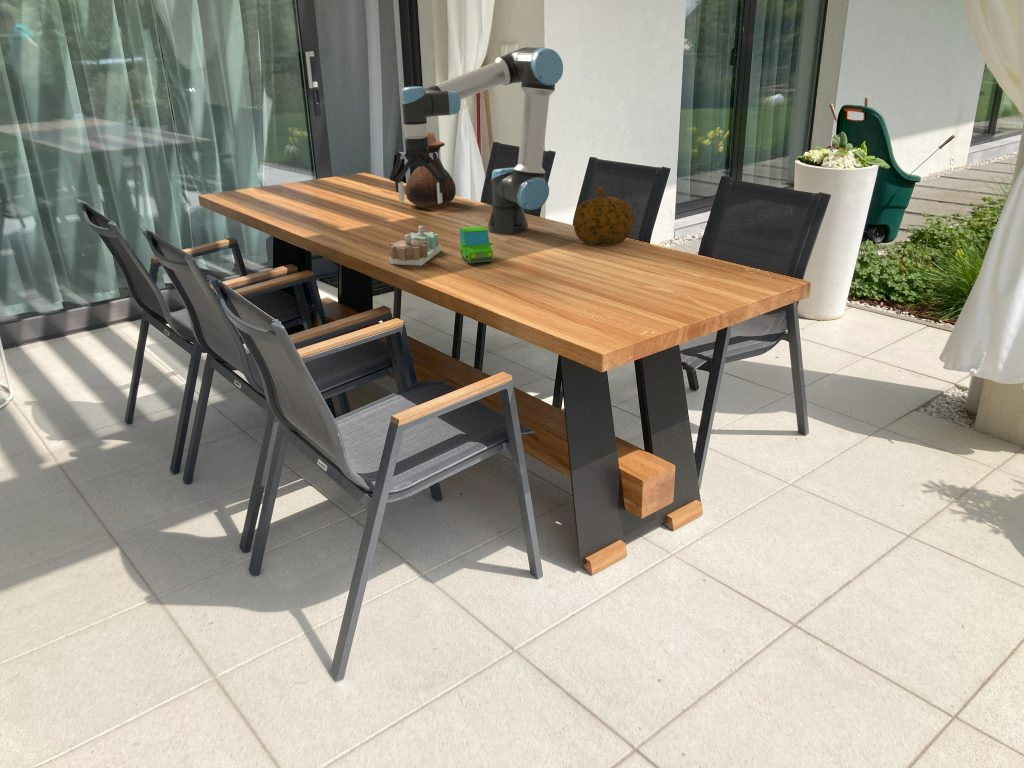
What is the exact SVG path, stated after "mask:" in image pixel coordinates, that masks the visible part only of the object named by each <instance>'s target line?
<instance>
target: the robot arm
mask: <svg viewBox="0 0 1024 768" xmlns="http://www.w3.org/2000/svg"><path fill="white" fill-rule="evenodd" d="M563 73H564V63H563V60H562V58H561V56H560V54H559V53H558V52H557V51H556V50H554V49H552V48H548V47H545V46H544V47H542V46H541V47H530V46H529V47H528V46H526V47H521V48H517V49H516V50H513V51H511V52H509V53H506V54H504V55H502V56H498V57H497V58H496V59H495V60H494V62H491V63H489V64H487V65H483V66H481V67H479V68H475V69H474V70H471V71H467V72H465V73H463V74H460V75H456V77H455V76H454V77H453V78H452V77H451V78H449V79H447V80H445V81H442V82H438V83H436V84H434V85H431V86H428V87H424V86H420V85H419V86H405V87H402V89H401V105H402V106H401V108H402V118H403V133H404V137H405V138H404V143H405V144H404V147H405V152H403V151H399V152H396V160H395V163H394V165H393V168H392V170H391V173H390V176H389V181H391V182H394V183H395V192H396V193H398V198H399V203H400V204H403V202H405V191H404V181H402V180H403V178H404V177H405V175H406V174H407V172H409V169H410V168H411V167H412V168H414V167H422V166H425V168H427V169H428V170H429V171H430V173H431V174H432V175H433V176H434V177H435V179H436V180H437V181H438V182H439V183H437V197H438V204H440V203H442V202H443V201H442V193H444V191H445V190H444V182H446V181H448V180H449V176H448V174H447V172H448V171H447V170H446V168H445V167H444V165H443V162H442V161H441V159H440V156H439V155H440V154H438V152H435V153H429V147H428V138H427V137H426V136H427V135H428V133H427V132H428V121H427V117H428V118H429V117H430V118H431V117H439V116H440V117H441V116H449V117H450V116H452V115H457V114H458V113H459V112H460V111H461V105H462V104H461V103H462V102H461V100H464V99H467V98H469V97H472V96H475V95H477V94H480V93H482V92H485V91H488V90H490V89H492V88H495V87H499V86H501V85H503V86H508V85H511V84H516V83H521V87H520V89H521V90H522V91H523V93H524V100H523V101H524V102H523V111H522V120H521V128H520V129H521V131H520V140H519V147H518V148H519V149H518V158H517V159H518V160H517V164H516V165H515V166H513V167H505V168H496V169H493V170H492V173H491V181H490V182H491V199H492V201H491V203H492V211H491V213H490V216H489V220H488V223H487V227H488V229H487V230H488V232H490V233H492V234H493V233H494V234H497V235H498V234H499V235H514V234H521V233H525V232H527V231H529V223H528V219H527V216H526V214H525V210H529V211H532V210H533V211H534V210H538V209H540V208H541V207H543V205H545V203H547V200H548V198H549V196H550V195H549V194H550V186H549V184H548V182H547V181H546V180H545V179H546V170H545V169H544V168H543V158H544V149H545V140H546V132H547V124H548V123H547V121H548V114H549V113H548V112H549V103H550V96H551V95H552V94H553V93H555V88H556V84H558V82H559V81H560V80H561V79H562V77H563ZM430 157H431V158H432V159H433V160H434V163H435V164H436V166H437V168H438V170H439V172H440V174H441V175H440V174H439V173H438V172H437V170H436V169H435V168H434V167H433V166H432V164H431V162H430V161H429V158H430ZM404 159H406V160H407V162H406V163H405V165H404V167H403V168H402V169H401V171H400V172H399V170H400V167H401V165H402V163H403V162H402V161H403V160H404ZM445 170H446V171H447V172H446V171H445ZM398 172H399V173H398Z"/></svg>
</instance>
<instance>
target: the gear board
mask: <svg viewBox="0 0 1024 768" xmlns="http://www.w3.org/2000/svg"><path fill="white" fill-rule="evenodd" d="M424 232H425V226H424V225H419V226H418V233H419V236H424ZM441 251H442V245H441V244H438V246H437V247H436V248H435V249H427V242H425V241H418V240H411V235H410V234H409V233H408V234H404V239H400V240H398V241H395V242H390V243H389V253H390V257H389V264H390V265H391V264H392V265H404V266H405V265H407V266H420V267H421V266H423V265H425V264H426V263H427V262H428V261H430V260H431V259H433V257H435V256H436V255H438V253H440V252H441Z"/></svg>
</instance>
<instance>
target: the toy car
mask: <svg viewBox="0 0 1024 768" xmlns="http://www.w3.org/2000/svg"><path fill="white" fill-rule="evenodd" d="M459 242H460V243H459V246H460V247H459V248H460V251H459V252H460V255H461V258H462V259H463V260H466V264H467V265H472V264H475V263H476V264H477V263H488V264H489V263H492V262H494V256H493V255H494V252H493V249H492V247H491V246H492V245H493V243H492V242H490V238H489V230H488V229H487V228H486V227H485V226H484V225H480V226H479V225H478V226H465V227H459Z"/></svg>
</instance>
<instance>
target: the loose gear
mask: <svg viewBox="0 0 1024 768" xmlns="http://www.w3.org/2000/svg"><path fill="white" fill-rule="evenodd" d="M408 234H410V235H411V240H418V241H425V242H427V249H435V248H436V247H437V246H438V245H439V235H438V233H435V232H433V231H429V232H425V231H424V236H419V232H409V233H408Z"/></svg>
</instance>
